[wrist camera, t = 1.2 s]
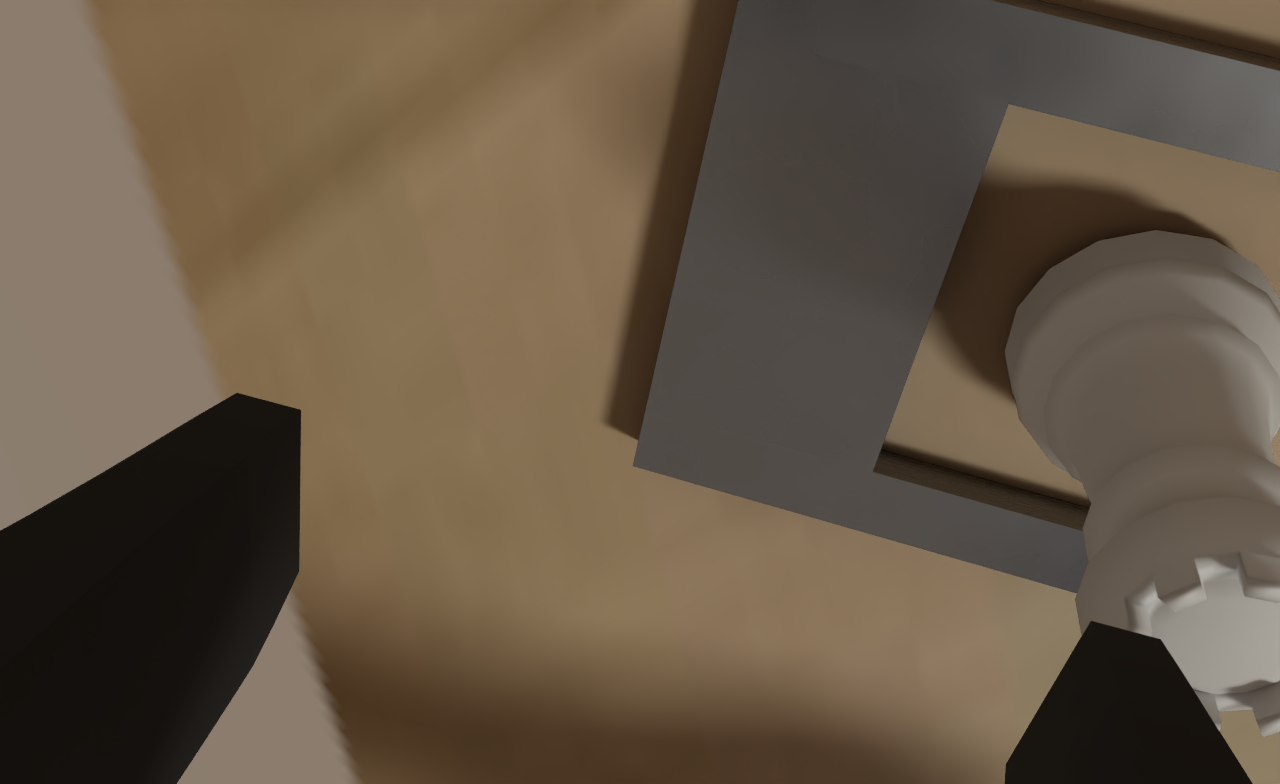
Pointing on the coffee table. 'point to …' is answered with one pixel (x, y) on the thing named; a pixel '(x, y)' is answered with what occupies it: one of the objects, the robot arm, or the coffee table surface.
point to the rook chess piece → (1167, 448)
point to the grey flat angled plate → (890, 244)
